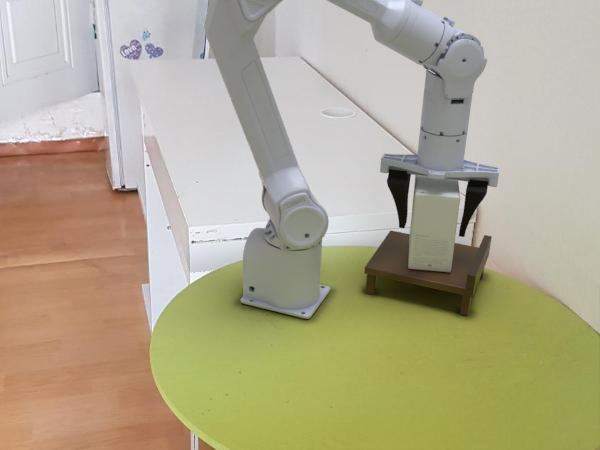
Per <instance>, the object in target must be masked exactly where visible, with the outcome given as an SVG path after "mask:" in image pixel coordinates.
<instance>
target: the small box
mask: <svg viewBox="0 0 600 450" xmlns="http://www.w3.org/2000/svg"><path fill="white" fill-rule="evenodd" d="M460 193H461V192H460V183H459V180H452V179H442V180H441V179H433V178H429V177H428V176H420V175H414V186H413V196H412V207H411V218H410V229H409V234H410V238H409V258H408V268H409V269H417V270H428V271H440V272H451V268H452V261H453V252H454V244H455V243H456V236H457V226H458V219H459V210H460V203H461V194H460Z"/></svg>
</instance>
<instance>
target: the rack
mask: <svg viewBox="0 0 600 450" xmlns="http://www.w3.org/2000/svg"><path fill="white" fill-rule="evenodd" d="M384 237H385V238H384V239H383V240H382V242H381V243H380V244H379V246H378V247H377V249H376V250H375V252H374V253H373V255H372V256H371V257H370V259H369V260H368V262H367V263H366V264H365V266H364V271H363V274H365V275H366V285H365V294H368V295H374V294H375V292H376V284H377V283H376V282H377V277H379V278H383V279H388V280H392V281H396V282H401V283H407V284H411V285H415V286H421V287H424V288H429V289H433V290H434V289H435V290H437V291H443V292H448V293H453V294H456V295H457V294H458V295H460V296H461V295H462V297H461V302H460V303H461V304H460V311H459V314H460V315H461V316H465V317H468V316H469V314H470V309H471V302H472V298H473V297H474V294H475V293H476V290H477V287H478V285H479V282H480V279H483V278H484V275H485V274H484V272H485V266H486V264H487V262H488V259H489V256H490V250H491V245H492V239H493V238H492V235H487V234H484V235H483V237H482V240H481V241H480V244H479V247H478V246H474V245H467V244H462V243H458V242H455V244H454V252H453V261H452V268H451V272H440V271H428V270H417V269H409V268H408V258H409V238H410V233H406V232H401V231H396V230H389V231H388V233H387V234H386V236H384Z"/></svg>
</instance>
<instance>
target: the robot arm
mask: <svg viewBox="0 0 600 450" xmlns="http://www.w3.org/2000/svg"><path fill="white" fill-rule="evenodd" d="M283 1H284V0H208V4H207V9H206V15H205V19H204V20H205V21H204V26H203V27H204V34H205V37H206V40H207V42H208V45H209V47H210V49H211V52H212V55H213V58H214V60H215V62H216V66H217V68H218V71H219V73H220V75H221V78H222V82H223V84H224V86H225V88H226V90H227V93H228V96H229V98H230V102H231V104H232V106H233V108H234V111H235V114H236V117H237V120H238V122H239V124H240V126H241V129H242V131H243V134H244V137H245V140H246V142H247V144H248V147H249V150H250V152H251V155H252V158H253V160H254V163H255V166H256V168H257V171H258V176H259V178H260V179H259V180H260V181H261V185H262V190H261V191H262V192H261V204H262V207H263V209H264V211H265V212H266V213H267V215H268V217H269V220H268V221H267V223H266V225H265V227H255V228H253V229H252V230H251V232H249V234H248V236H247V237H246V241H245V242H244V243H245V244H244V248H243V255H242V297H241V298H240V303H241V304H243V305H248V306H252V307H256V308H260V309H264V310H268V311H273V312H276V313H277V312H278V313H281V314H284V315H289V316H293V317H296V318H301V319H305V320H308V319H311V318H312V316H313V315H314V313H315V312H316V311H317V310H318V308H319V307H320V305H321V304H322V303H323V301H325V299H326V297H327V296H328V294H329V293H330V292H331V287H330V286H328V285H324V284H321V276H322V275H321V273H322V250H323V238H324V237H325V236H326V234H327V231H328V229H329V216H328V212H327V211H326V209H325V208H324V207H323V205H322V204H321V203H319V201H318V200H317V198H316V197H315V196H314V194H313V192H312V191H311V189H310V187H309V184H308V183H307V180H306V179H305V176H304V174H303V172H302V170H301V168H300V165H299V163H298V160H297V157H296V154H295V152H294V149H293V146H292V143H291V140H290V137H289V134H288V132H287V129H286V126H285V124H284V121H283V119H282V115H281V113H280V110H279V107H278V103H277V102H276V99H275V96H274V93H273V90H272V87H271V85H270V81H269V80H268V76H267V74H266V71H265V68H264V65H263V63H262V60H261V56H260V54H259V51H258V48H257V46H256V43H255V37H256V35H257V33H258V31H259V30H260V28H261V26H262V24H263V22H264V20H265V19H266V17H267V16H268V14H270V13H271V12H272V11H273V10H275V8H277V7H278V6H279V5H280V4H281V3H282V2H283ZM326 2H329V3H331V4H332V5H334V6H337V7H338V8H341V9H342V10H344V11H346V12H348V13H350V14H352V15H353V16H356V17H357V18H359V19H361V20H362V21H365V22H367V23H369V24H370V27H371V31H372V35H373V39H374V40H375V42H377V43H379V44H381V45H383V46H384V47H386V48H388V49H389V50H391V51H393V52H395V53H397V54H399V55H401V56H402V57H404V58H406V59H408V60H410V61H411V62H414V63H415V64H417V65H419V66H422V67H423V68H424V69H425V78H424V88H423V96H422V107H421V116H420V126H419V134H418V135H419V136H418V145H417V153H416V154H415V153H414V154H411V153H407V154H406V153H404V154H398V153H397V154H396V153H383V154H382V156H381V157H380V168H379V173H382V174H388V175H387V178H386V184H387V187H388V189H389V192H390V194H391V196H392V198H393V199H392V200H393V201H394V205H395V209H396V212H397V219H398V228H399V229H405V228H406V225H407V221H408V215H409V213H408V210H409V204H408V203H409V192H410V184H411V178H412V177H411V176H412V175H413V176H415V175H420V176H428V177H429V178H433V179H441V180H442V179H452V180H458V182H459V181H461V182H467V184H466V188H465V197H464V204H463V205H464V206H463V212H462V217H461V221H460V227H459V232H458V237H462V238H465V236H466V231H467V228H468V226H469V224H470V221H471V219H472V217H473V215H474V213H475V212H476V211H477V209H478V207H479V206H480V205H481V203H482V202H483V200H484V199H485V198H486V196H487V193H488V188H489V187H492V188H497V187H498V184H499V183H498V182H499V176H500V167H499V166H492V165H487V164H484V163H483V164H482V163H479V162H475V161H471V160H467V159H465V154H466V145H467V140H468V139H467V137H468V131H469V123H470V115H471V109H472V108H471V107H472V101H473V93H474V90H475V89H474V88H475V83H476V81H477V80H478V79H479V77H481V76H482V74H483V73H484V71H485V68H486V66H487V63H488V58H487V57H486V56H485V51H484V47H483V46H482V45H481V44H482V42H481V40H479V38H477V37H476V36H475V35H473V34H470V33H468V32H466V31H464V30H462V29H460V28H458V27H455V26H454V25H455V23H456V22H455V20H454V19H452V18H451V17H449V16H447V15H445V16H443V17H441V16H439V15H437V14H436V13H434V12H432V11H430V10H429V9H427V8H425V7H424V6H423V3H424V0H326Z"/></svg>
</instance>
